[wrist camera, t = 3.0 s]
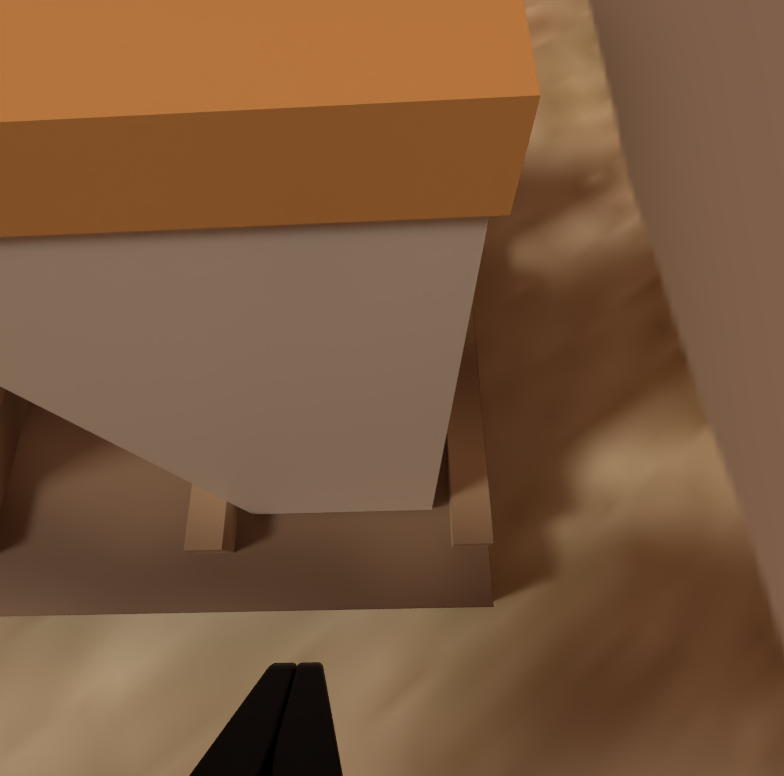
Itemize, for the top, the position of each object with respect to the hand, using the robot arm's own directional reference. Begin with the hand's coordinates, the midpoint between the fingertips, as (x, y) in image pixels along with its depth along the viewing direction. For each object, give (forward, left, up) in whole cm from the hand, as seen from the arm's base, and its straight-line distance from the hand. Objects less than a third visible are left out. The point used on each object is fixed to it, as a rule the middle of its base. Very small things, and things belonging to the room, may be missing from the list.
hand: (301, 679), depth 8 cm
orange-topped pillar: (+6, -1, -5) cm, 8 cm away
